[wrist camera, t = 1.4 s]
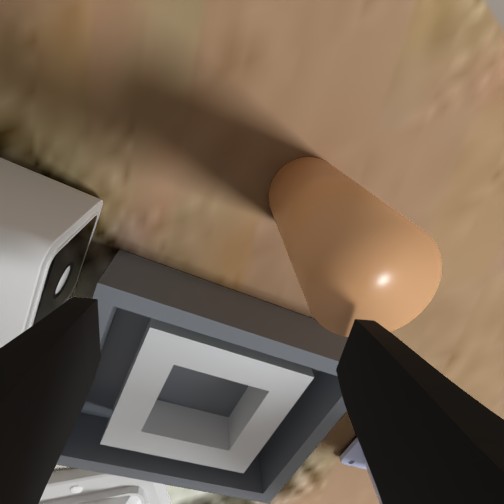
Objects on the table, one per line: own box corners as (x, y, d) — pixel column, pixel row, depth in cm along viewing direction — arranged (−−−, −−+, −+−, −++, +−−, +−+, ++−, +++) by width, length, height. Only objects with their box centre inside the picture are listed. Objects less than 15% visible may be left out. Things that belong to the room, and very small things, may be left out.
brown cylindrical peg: (356, 176, 17) (470, 252, 9) (318, 239, 19) (388, 352, 11) (290, 143, 16) (355, 197, 8) (255, 213, 18) (282, 315, 10)
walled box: (355, 334, 22) (377, 374, 19) (263, 456, 27) (269, 503, 24) (119, 249, 18) (97, 282, 15) (64, 411, 23) (39, 461, 20)
